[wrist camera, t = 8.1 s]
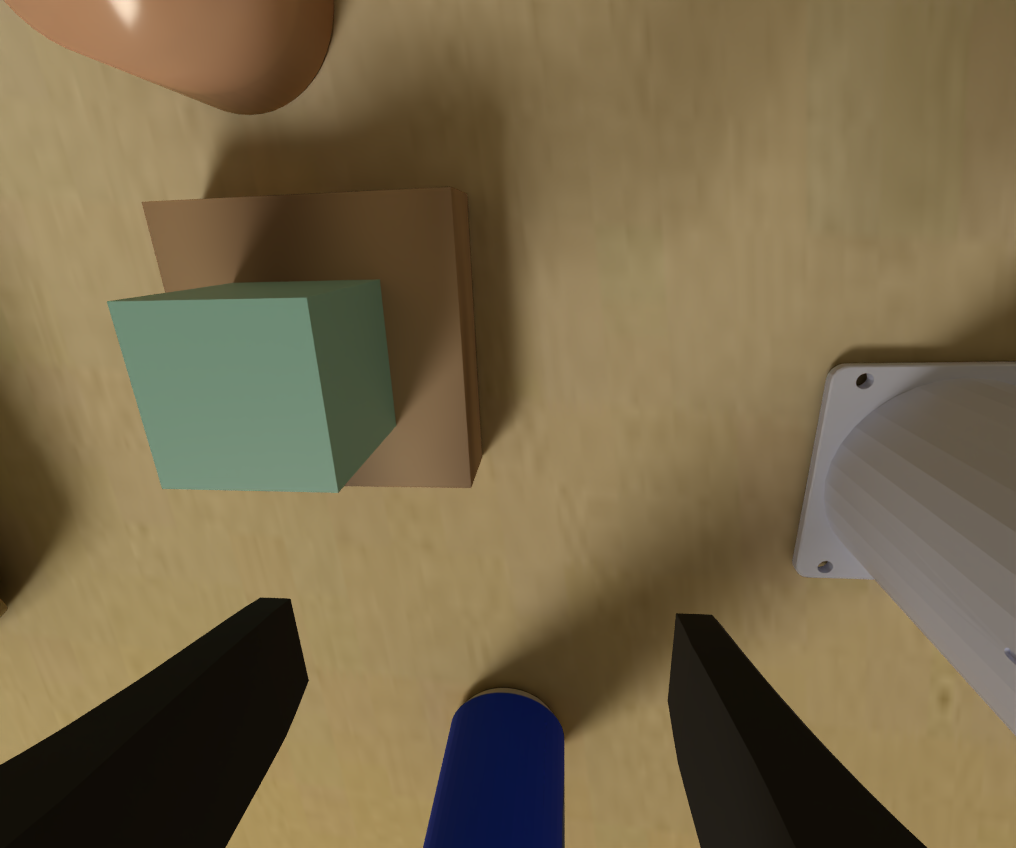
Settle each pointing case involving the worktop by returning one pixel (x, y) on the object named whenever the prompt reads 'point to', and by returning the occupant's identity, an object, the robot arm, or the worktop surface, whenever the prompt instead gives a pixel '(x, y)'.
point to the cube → (259, 382)
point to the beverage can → (500, 776)
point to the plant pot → (2, 608)
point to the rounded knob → (197, 44)
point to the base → (360, 256)
